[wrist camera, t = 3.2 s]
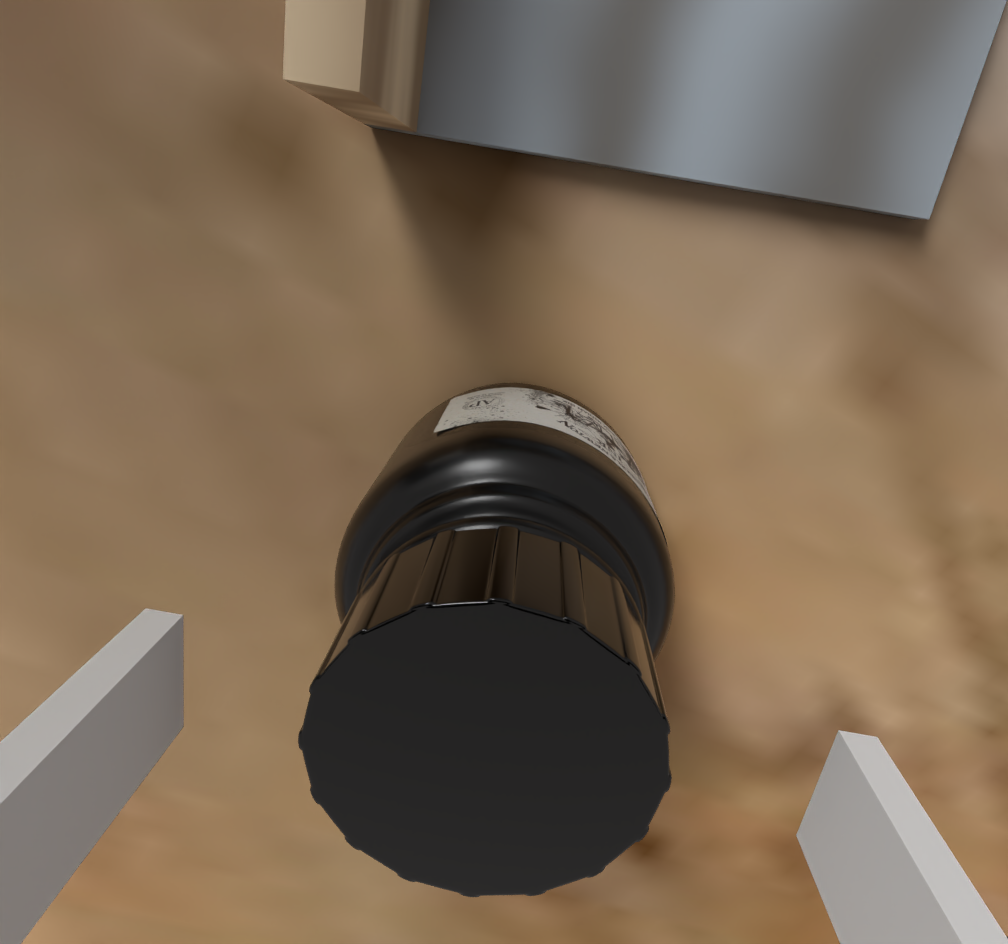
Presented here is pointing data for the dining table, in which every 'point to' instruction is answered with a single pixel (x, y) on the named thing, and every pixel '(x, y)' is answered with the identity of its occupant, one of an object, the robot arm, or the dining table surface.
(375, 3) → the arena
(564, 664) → the ink bottle
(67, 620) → the dining table surface
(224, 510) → the dining table surface
